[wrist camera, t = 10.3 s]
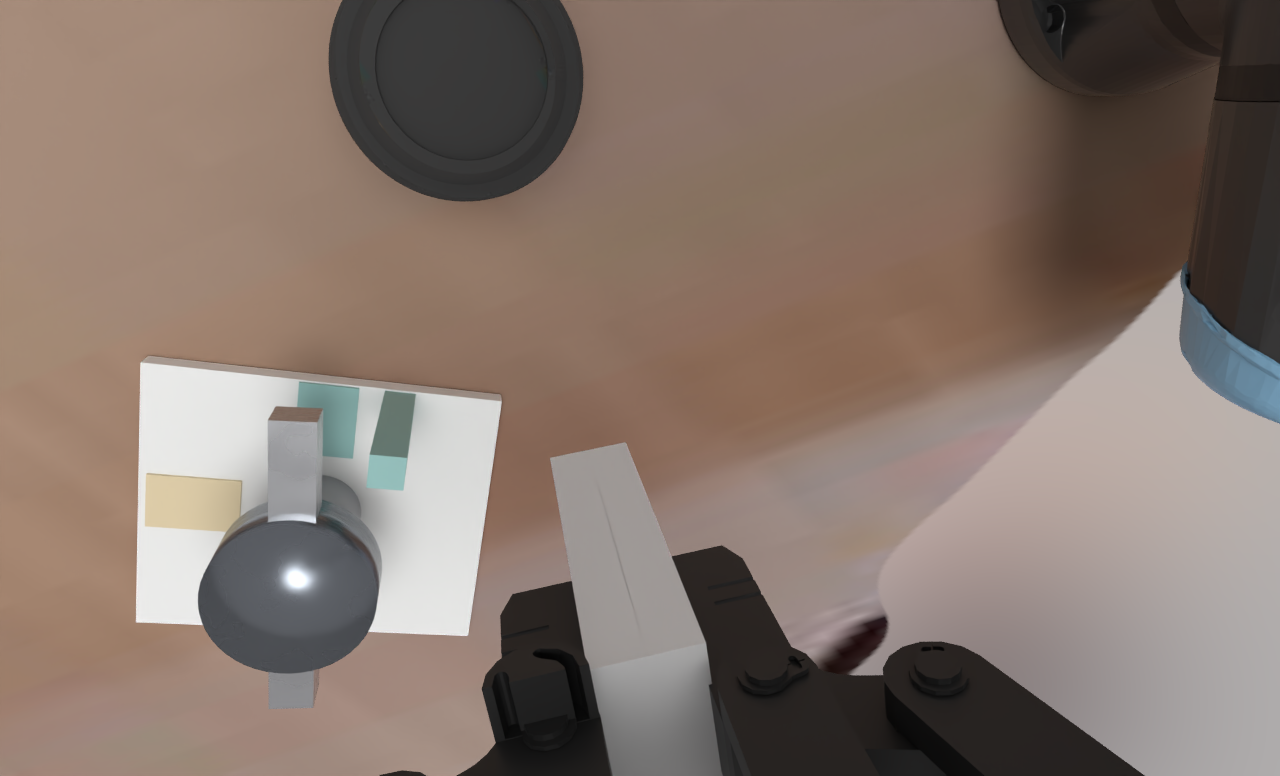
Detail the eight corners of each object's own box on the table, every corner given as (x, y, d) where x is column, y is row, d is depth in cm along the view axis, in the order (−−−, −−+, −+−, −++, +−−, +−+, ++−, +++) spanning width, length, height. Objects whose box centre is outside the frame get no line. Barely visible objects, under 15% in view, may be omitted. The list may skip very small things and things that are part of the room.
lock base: (500, 394, 48) (511, 465, 39) (467, 624, 53) (470, 737, 43) (148, 355, 44) (66, 425, 35) (143, 610, 48) (68, 732, 39)
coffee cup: (433, 206, 45) (422, 257, 31) (325, 41, 41) (258, 15, 27) (582, 116, 45) (639, 125, 31) (486, -57, 41) (502, -133, 27)
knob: (378, 675, 44) (372, 714, 42) (217, 678, 43) (201, 719, 40) (388, 407, 40) (383, 430, 37) (211, 398, 38) (191, 422, 35)
